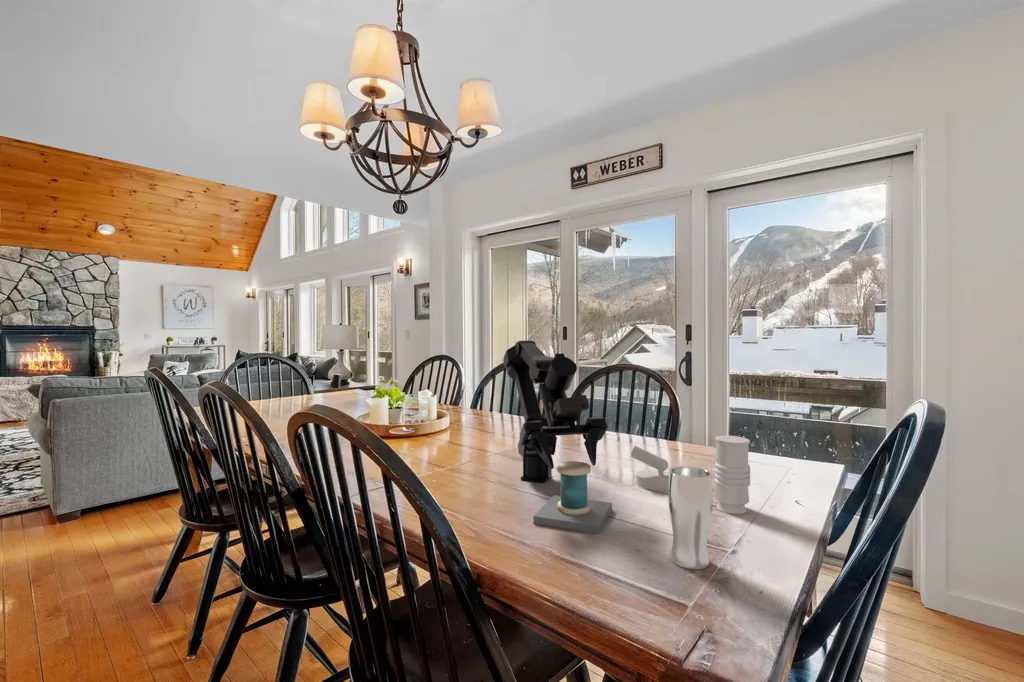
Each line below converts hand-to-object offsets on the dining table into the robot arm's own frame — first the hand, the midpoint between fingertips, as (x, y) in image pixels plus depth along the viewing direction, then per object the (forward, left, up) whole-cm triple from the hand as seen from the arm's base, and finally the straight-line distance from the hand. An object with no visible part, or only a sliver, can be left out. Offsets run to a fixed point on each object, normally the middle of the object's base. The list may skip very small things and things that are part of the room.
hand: (573, 466), depth 101 cm
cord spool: (0, 0, -9) cm, 9 cm away
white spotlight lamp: (+12, +27, -11) cm, 31 cm away
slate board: (0, 0, -10) cm, 10 cm away
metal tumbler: (+23, -11, -11) cm, 28 cm away
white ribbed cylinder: (+30, +17, -11) cm, 36 cm away
